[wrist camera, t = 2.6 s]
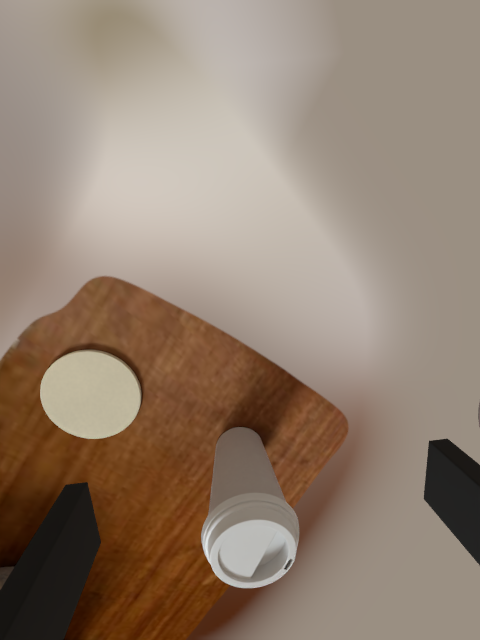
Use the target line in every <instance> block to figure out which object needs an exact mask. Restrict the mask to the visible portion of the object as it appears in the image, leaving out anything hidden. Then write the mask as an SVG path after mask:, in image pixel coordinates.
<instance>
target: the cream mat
mask: <svg viewBox="0 0 480 640" xmlns="http://www.w3.org/2000/svg"><path fill="white" fill-rule="evenodd" d="M40 396H41V402H42V405H43V408H44V410H45V412H46V414H47V415H48V416H49V418H50V419H51V420H52V421H53V422H54V423H55V424H56V425H57V426H58V427H59V428H61V429H62V430H64V431H66V432H68V433H70V434H72V435H75V436H78V437H82V438H89V439H98V438H105V437H109V436H112V435H115V434H117V433H119V432H121V431H122V430H124V429H125V428H126V427H127V426H129V425H130V423H131V422H132V421H133V420H134V418H135V417H136V415H137V413H138V411H139V408H140V405H141V397H142V393H141V387H140V383H139V381H138V379H137V377H136V375H135V373H134V372H133V370H132V369H131V368H130V367H129V366H128V365H127V364H126V363H125V362H124V361H122V360H121V359H119V358H118V357H116V356H114V355H112V354H109V353H106V352H103V351H98V350H79V351H74V352H71V353H69V354H66V355H64V356H62V357H61V358H59V359H58V360H57V361H55V362H54V363H53V364H52V365H51V366H50V367H49V368H48V370H47V371H46V373H45V374H44V377H43V379H42V383H41V388H40Z"/></svg>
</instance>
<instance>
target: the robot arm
mask: <svg viewBox="0 0 480 640" xmlns="http://www.w3.org/2000/svg"><path fill="white" fill-rule="evenodd" d="M428 448H429V449H428V458H427V469H426V481H425V491H424V500H425V501H426V502H427V503H428V504H429V506H430V507H431V508H432V509H433V510H434V511H435V512H436V514H437V515H438V516H439V517H440V519H441V520H442V521H443V522H444V523H445V524H446V526H447V527H448V528H449V529H450V530H451V532H452V533H453V534H454V535H455V536H456V538H457V539H458V540H459V541H460V542H461V544H462V545H463V546H464V547H465V548H466V549H467V551H468V552H469V553H470V554H471V555H472V557H473V558H474V559H475V560H476V561H477V563H479V565H480V465H479V464H478V463H477V462H475V461H474V460H473V459H472V458H471V457H469V456H468V455H467V454H466V453H464V452H463V451H462V450H461V449H459V448H458V447H457V446H456V445H454V444H453V443H452V442H451V441H450V440H448V439H442V440H433V441H429V447H428ZM100 543H101V541H100V536H99V532H98V527H97V523H96V519H95V514H94V510H93V505H92V501H91V496H90V492H89V488H88V483H87V482H86V483H78V484H69V485H65V487H64V488H63V490H62V492H61V493H60V495H59V496H58V498H57V500H56V501H55V503H54V504H53V506H52V508H51V509H50V511H49V512H48V514H47V516H46V517H45V519H44V520H43V522H42V524H41V525H40V527H39V528H38V530H37V532H36V533H35V535H34V537H33V538H32V540H31V541H30V543H29V545H28V546H27V548H26V549H25V551H24V553H23V554H22V556H21V557H20V559H19V561H18V562H17V564H16V565H15V567H14V569H13V570H12V572H11V573H10V575H9V577H8V578H7V580H6V581H5V583H4V585H3V586H2V588H1V589H0V640H64V637H65V635H66V632H67V630H68V627H69V624H70V622H71V619H72V616H73V614H74V611H75V609H76V606H77V603H78V601H79V598H80V595H81V593H82V590H83V588H84V585H85V582H86V580H87V577H88V575H89V572H90V569H91V567H92V564H93V561H94V559H95V556H96V554H97V551H98V548H99V546H100Z"/></svg>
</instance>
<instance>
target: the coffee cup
mask: <svg viewBox="0 0 480 640" xmlns="http://www.w3.org/2000/svg"><path fill="white" fill-rule="evenodd" d="M201 540H202V545H203V549H204V552H205V555H206V557H207V559H208V561H209V563H210V564H211V566H212V569H213V571H214V573H215V574H216V575H217V576H218V577H219V578H220V579H221V580H222V581H224V582H225V583H227V584H229V585H232V586H235V587H240V588H256V587H261V586H265V585H267V584H270V583H272V582H274V581H276V580H277V579H279V578H280V577H282V576H283V575H284V574H285V573H286V572H287V571H288V570H289V569H290V567H291V566H292V564H293V562H294V559H295V556H296V549H297V546H298V541H299V522H298V518H297V516H296V514H295V512H294V510H293V509H292V507H291V506H290V505H289V504H288V503H286V501H285V498H284V496H283V493H282V491H281V488H280V486H279V483H278V481H277V478H276V476H275V473H274V471H273V468H272V466H271V463H270V461H269V458H268V456H267V453H266V451H265V448H264V446H263V443H262V440H261V438H260V437H259V435H258V434H257V433H256V432H255V431H253V430H251V429H249V428H245V427H236V428H232V429H230V430H228V431H226V432H225V433H223V434H222V435H221V436H220V438H219V439H218V441H217V444H216V451H215V460H214V470H213V479H212V488H211V497H210V506H209V514H208V517H207V519H206V520H205V523H204V525H203V528H202V534H201Z"/></svg>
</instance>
